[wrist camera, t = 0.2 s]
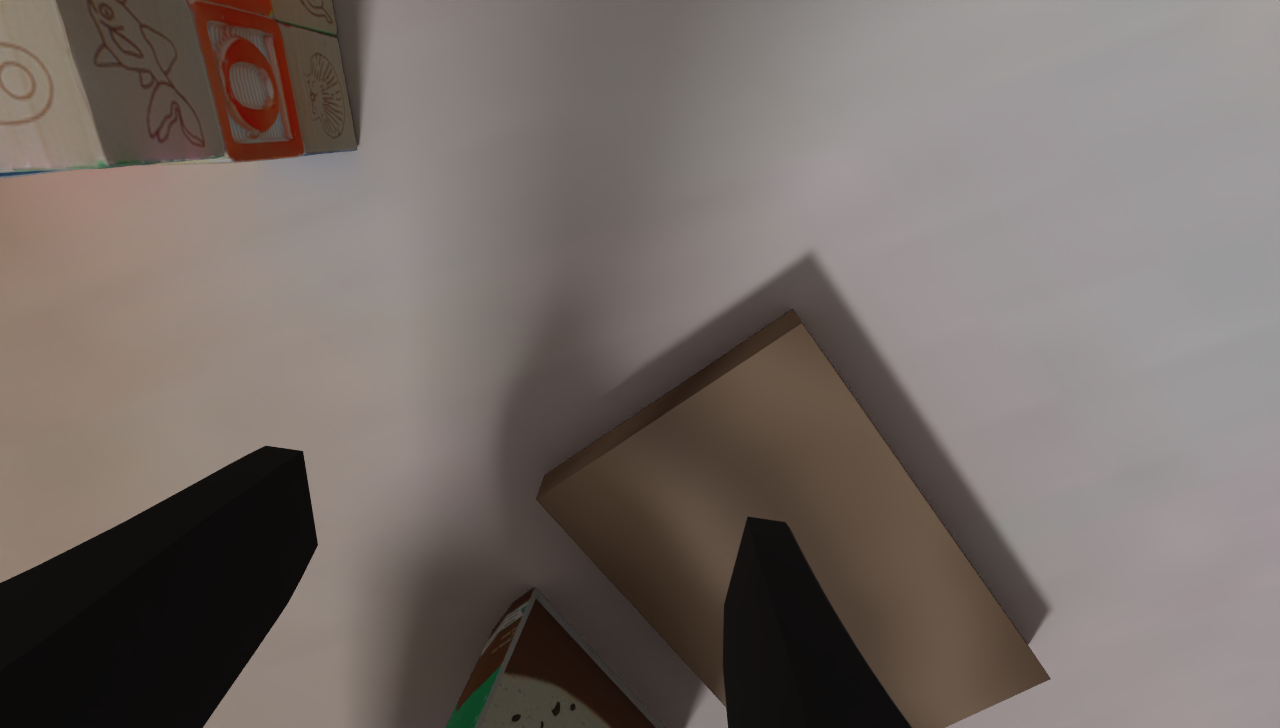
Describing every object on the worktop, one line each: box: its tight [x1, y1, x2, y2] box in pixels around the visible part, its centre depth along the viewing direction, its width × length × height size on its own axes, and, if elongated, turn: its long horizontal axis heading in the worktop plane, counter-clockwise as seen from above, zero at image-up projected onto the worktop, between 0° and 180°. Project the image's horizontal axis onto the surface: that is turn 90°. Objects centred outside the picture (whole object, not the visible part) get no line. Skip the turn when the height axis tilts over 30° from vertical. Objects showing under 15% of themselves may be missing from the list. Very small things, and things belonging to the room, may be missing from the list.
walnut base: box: [536, 309, 1050, 728], centre depth 23 cm, size 10×16×2 cm, turn 37°
